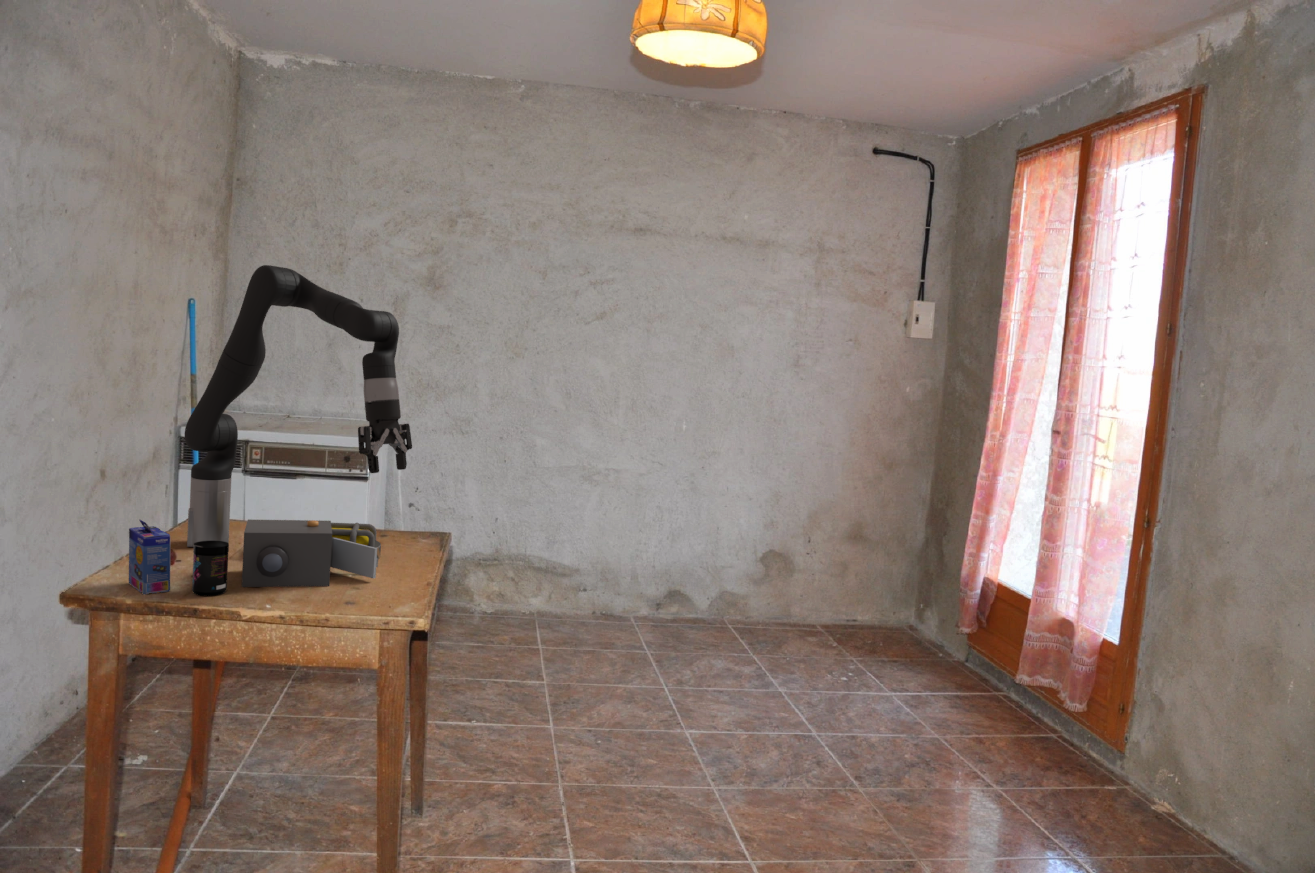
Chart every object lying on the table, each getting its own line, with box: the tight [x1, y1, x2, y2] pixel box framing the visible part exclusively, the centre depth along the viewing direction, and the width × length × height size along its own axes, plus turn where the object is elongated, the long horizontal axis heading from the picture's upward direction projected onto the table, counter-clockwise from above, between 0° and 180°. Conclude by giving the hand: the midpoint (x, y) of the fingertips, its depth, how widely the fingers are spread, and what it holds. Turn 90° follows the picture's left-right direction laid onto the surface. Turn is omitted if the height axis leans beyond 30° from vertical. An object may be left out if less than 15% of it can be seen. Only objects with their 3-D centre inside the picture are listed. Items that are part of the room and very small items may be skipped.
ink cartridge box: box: [128, 519, 171, 595], centre depth 198 cm, size 10×6×14 cm, turn 46°
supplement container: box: [191, 541, 230, 597], centre depth 198 cm, size 7×7×10 cm
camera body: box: [241, 519, 332, 588], centre depth 212 cm, size 18×17×13 cm
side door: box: [330, 537, 379, 579], centre depth 220 cm, size 1×14×7 cm, turn 61°
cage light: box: [331, 522, 382, 560], centre depth 237 cm, size 15×8×30 cm
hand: (388, 471), depth 212 cm, fingers open, 8 cm apart
